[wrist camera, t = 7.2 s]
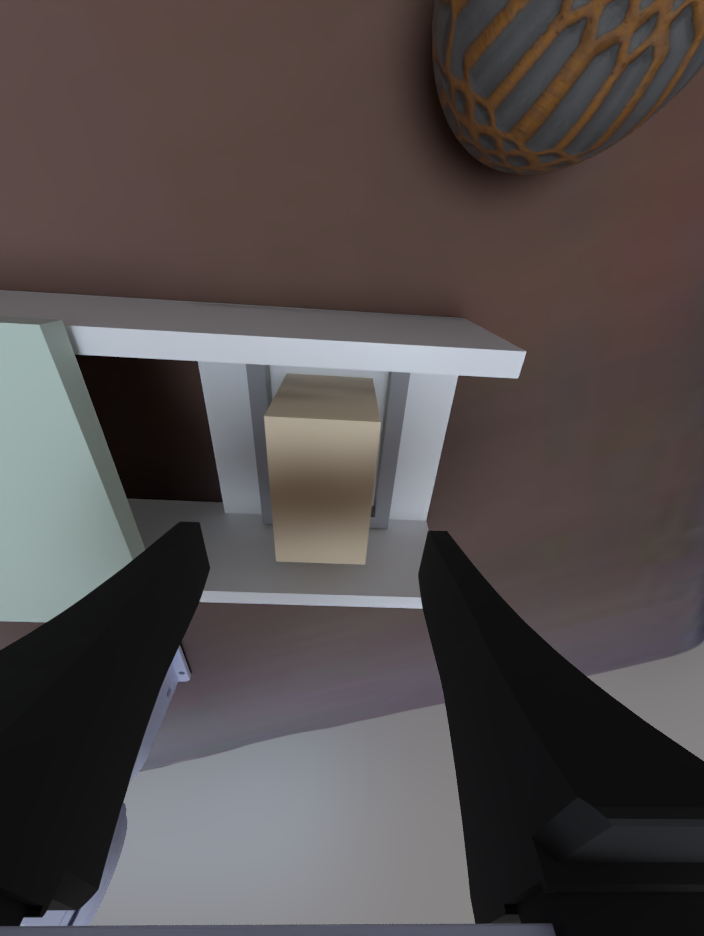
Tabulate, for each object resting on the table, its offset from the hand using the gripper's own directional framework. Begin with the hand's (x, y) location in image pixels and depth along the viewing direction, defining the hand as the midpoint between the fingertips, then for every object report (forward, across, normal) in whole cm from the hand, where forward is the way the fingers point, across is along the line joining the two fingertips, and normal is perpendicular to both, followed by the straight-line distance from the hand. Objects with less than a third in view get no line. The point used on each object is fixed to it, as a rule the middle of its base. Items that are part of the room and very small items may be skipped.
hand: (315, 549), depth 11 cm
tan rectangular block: (+8, 0, 0) cm, 8 cm away
